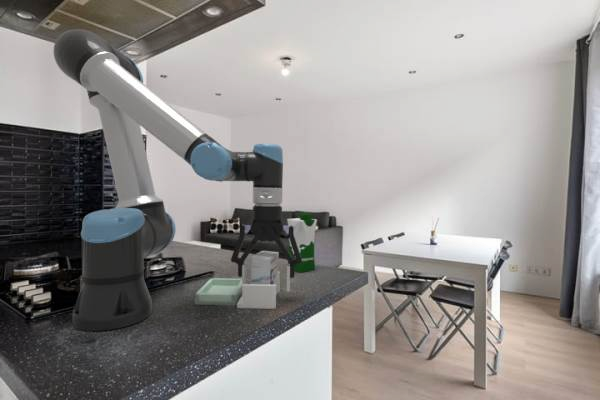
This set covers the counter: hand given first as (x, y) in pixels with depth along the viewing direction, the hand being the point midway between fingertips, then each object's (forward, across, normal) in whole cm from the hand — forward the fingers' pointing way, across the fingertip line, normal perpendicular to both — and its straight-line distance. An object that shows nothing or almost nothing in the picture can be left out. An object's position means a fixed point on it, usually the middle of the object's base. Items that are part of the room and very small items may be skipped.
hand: (266, 289), depth 83 cm
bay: (+2, -1, 0) cm, 3 cm away
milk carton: (+3, +9, +31) cm, 32 cm away
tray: (+2, -12, +2) cm, 12 cm away
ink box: (+3, 0, 0) cm, 3 cm away
